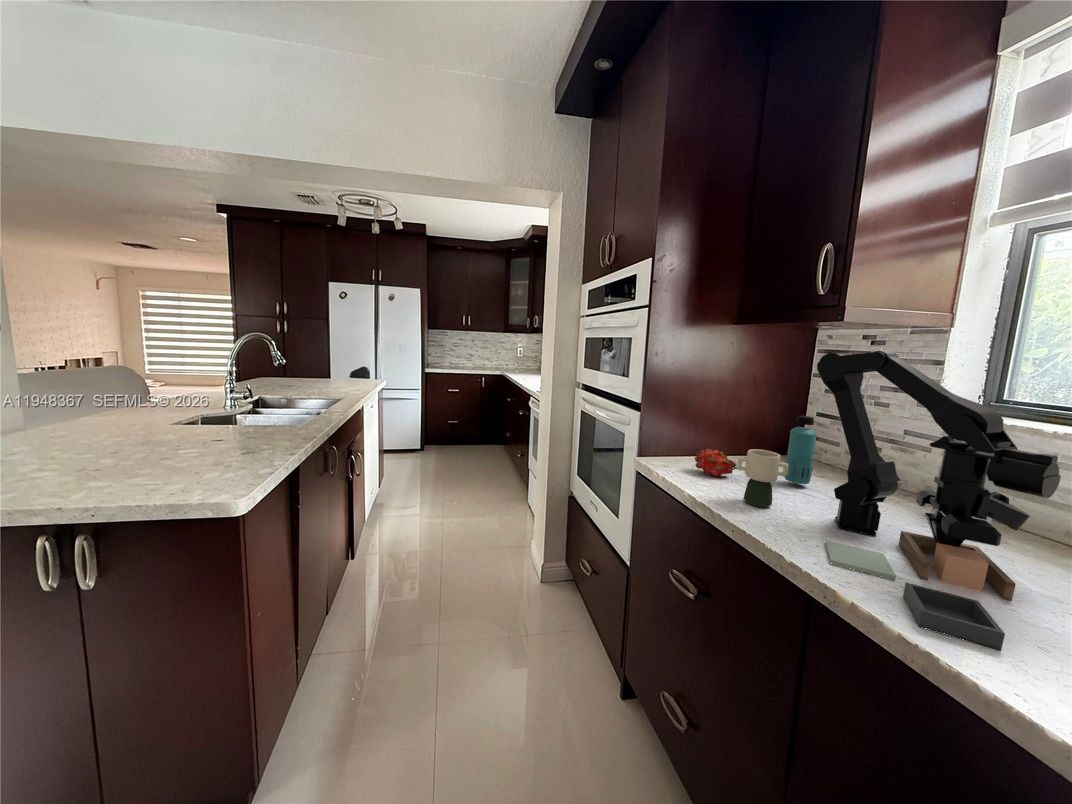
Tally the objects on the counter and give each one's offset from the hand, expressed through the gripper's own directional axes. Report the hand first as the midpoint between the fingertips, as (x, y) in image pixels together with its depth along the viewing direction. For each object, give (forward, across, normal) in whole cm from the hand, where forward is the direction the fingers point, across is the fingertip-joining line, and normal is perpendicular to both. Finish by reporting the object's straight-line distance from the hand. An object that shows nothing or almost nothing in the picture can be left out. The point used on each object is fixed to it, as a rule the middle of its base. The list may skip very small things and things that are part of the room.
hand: (944, 558), depth 76 cm
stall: (+1, -2, 0) cm, 3 cm away
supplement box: (+1, +28, -10) cm, 30 cm away
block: (+1, -6, 0) cm, 6 cm away
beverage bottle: (+1, +34, +22) cm, 41 cm away
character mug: (+1, +12, +31) cm, 33 cm away
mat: (+1, -8, +14) cm, 16 cm away
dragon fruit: (+1, +30, +43) cm, 52 cm away
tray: (+1, -22, +6) cm, 23 cm away
